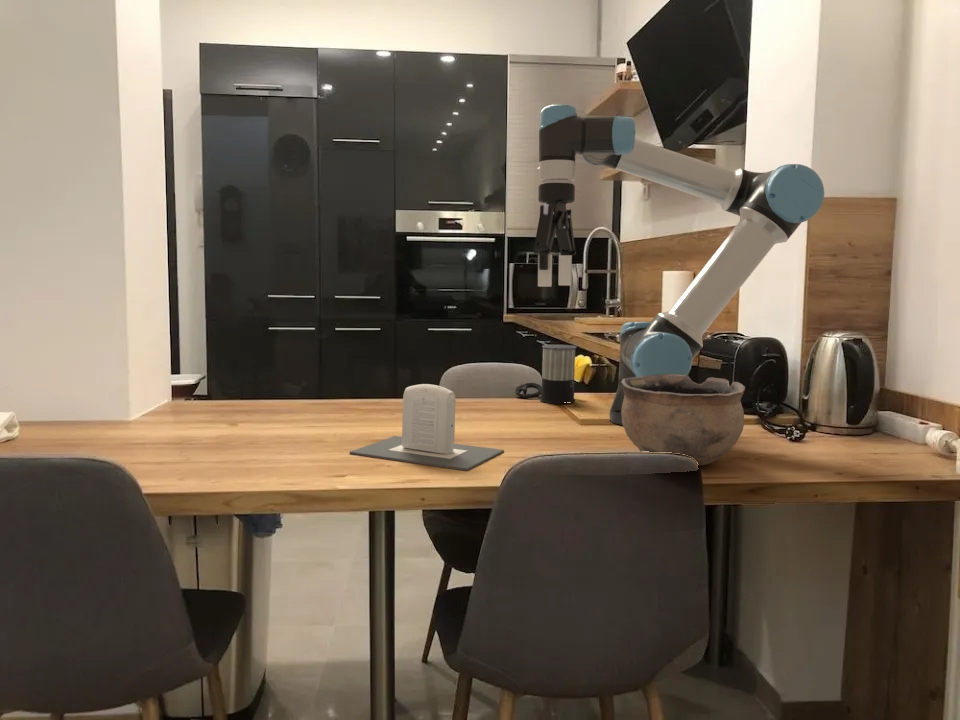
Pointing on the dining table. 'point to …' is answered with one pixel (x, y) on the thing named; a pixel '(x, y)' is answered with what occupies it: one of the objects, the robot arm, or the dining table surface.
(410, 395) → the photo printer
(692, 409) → the ceramic bowl
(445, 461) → the mat
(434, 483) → the dining table surface
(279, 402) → the dining table surface
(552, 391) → the milk frother
